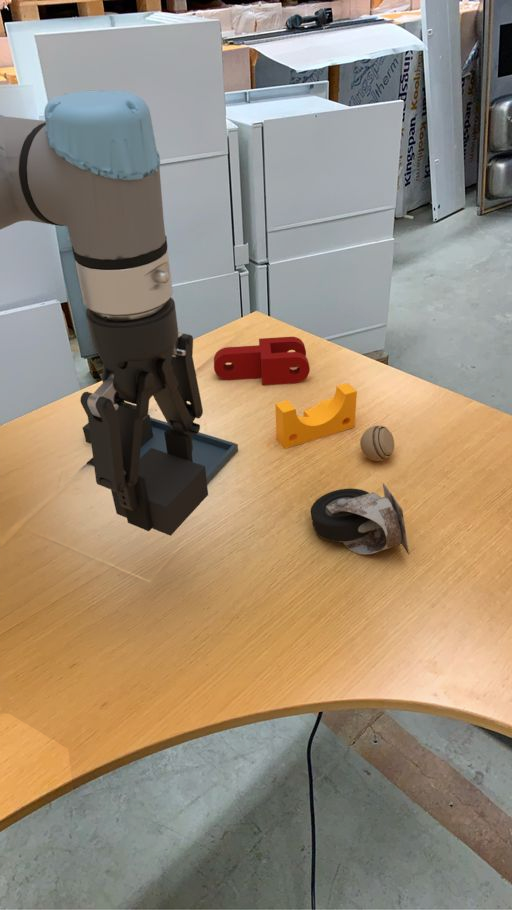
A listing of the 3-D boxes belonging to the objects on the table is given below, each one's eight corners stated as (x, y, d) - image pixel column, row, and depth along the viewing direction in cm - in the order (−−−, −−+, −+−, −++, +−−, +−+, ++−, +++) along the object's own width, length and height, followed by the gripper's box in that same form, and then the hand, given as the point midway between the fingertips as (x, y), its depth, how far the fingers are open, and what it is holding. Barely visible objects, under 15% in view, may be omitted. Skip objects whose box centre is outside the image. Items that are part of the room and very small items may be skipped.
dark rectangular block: (116, 513, 69) (109, 485, 66) (156, 475, 73) (151, 447, 71) (170, 536, 66) (165, 506, 63) (208, 494, 71) (205, 466, 68)
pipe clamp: (340, 412, 103) (341, 377, 99) (354, 427, 100) (356, 391, 96) (271, 433, 99) (270, 397, 95) (283, 448, 96) (283, 412, 92)
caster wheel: (310, 527, 87) (382, 507, 87) (332, 578, 76) (414, 554, 77) (300, 485, 84) (374, 463, 84) (322, 532, 73) (406, 507, 74)
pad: (87, 449, 97) (82, 427, 95) (117, 424, 102) (112, 403, 100) (124, 462, 94) (120, 440, 92) (153, 436, 99) (149, 414, 97)
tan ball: (369, 471, 91) (371, 443, 88) (353, 451, 95) (355, 423, 92) (400, 463, 92) (404, 434, 89) (384, 443, 96) (387, 415, 93)
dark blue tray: (72, 460, 96) (70, 451, 95) (123, 417, 104) (122, 408, 103) (192, 503, 88) (191, 494, 87) (238, 453, 96) (237, 443, 95)
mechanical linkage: (304, 361, 116) (304, 335, 113) (309, 382, 110) (309, 356, 107) (215, 366, 116) (212, 341, 113) (215, 388, 110) (212, 362, 107)
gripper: (84, 366, 47) (132, 578, 61) (229, 266, 60) (240, 460, 75) (10, 343, 50) (72, 551, 64) (163, 253, 63) (186, 442, 78)
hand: (162, 502), depth 69 cm, fingers closed on dark rectangular block, 7 cm apart
